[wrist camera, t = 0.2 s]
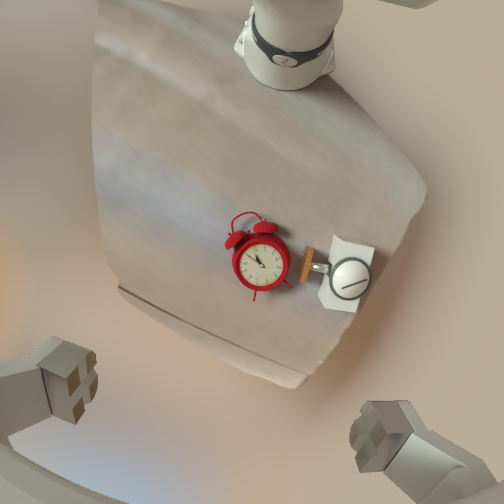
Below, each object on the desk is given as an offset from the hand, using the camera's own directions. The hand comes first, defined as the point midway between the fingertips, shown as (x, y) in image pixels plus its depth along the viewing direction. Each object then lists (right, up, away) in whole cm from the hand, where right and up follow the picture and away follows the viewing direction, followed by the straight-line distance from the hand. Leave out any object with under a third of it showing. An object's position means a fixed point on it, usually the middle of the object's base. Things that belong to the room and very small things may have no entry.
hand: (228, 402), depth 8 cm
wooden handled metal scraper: (+13, +2, +47) cm, 49 cm away
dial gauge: (+17, +1, +48) cm, 51 cm away
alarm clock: (+2, +4, +48) cm, 48 cm away
